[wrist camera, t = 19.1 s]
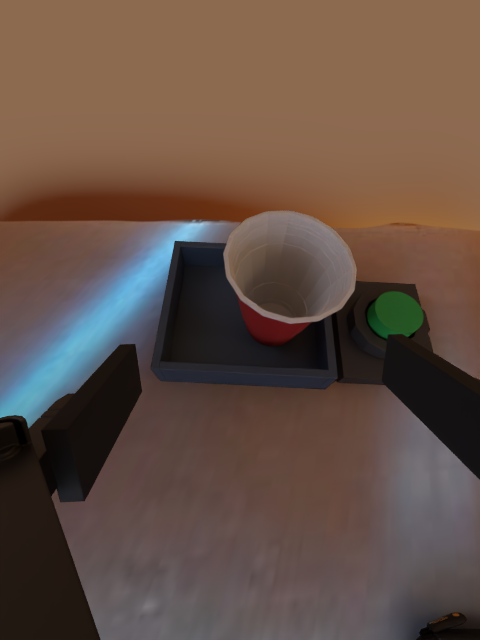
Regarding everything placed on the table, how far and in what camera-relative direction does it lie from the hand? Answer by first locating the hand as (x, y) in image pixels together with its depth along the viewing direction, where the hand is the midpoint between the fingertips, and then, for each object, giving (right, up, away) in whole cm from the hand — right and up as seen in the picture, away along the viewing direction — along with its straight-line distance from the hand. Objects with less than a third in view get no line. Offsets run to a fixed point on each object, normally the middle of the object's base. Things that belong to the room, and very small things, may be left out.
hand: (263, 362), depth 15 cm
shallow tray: (-1, +2, +19) cm, 20 cm away
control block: (+15, +1, +19) cm, 24 cm away
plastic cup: (+3, +2, +19) cm, 19 cm away
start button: (+15, +2, +16) cm, 22 cm away
